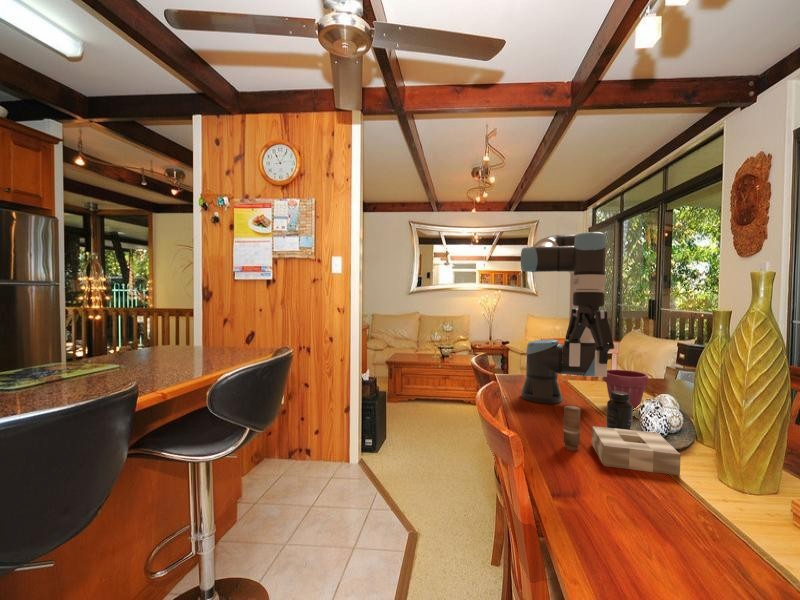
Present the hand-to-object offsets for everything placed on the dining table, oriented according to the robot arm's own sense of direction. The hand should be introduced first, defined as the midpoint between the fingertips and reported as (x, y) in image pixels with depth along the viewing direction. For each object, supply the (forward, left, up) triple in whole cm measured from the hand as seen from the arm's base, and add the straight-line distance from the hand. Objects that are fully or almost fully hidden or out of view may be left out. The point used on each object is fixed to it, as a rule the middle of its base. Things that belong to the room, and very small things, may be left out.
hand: (586, 371), depth 101 cm
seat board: (+2, +11, -21) cm, 24 cm away
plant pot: (-47, +22, -22) cm, 56 cm away
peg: (0, -3, -21) cm, 22 cm away
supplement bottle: (-18, +13, -22) cm, 31 cm away
